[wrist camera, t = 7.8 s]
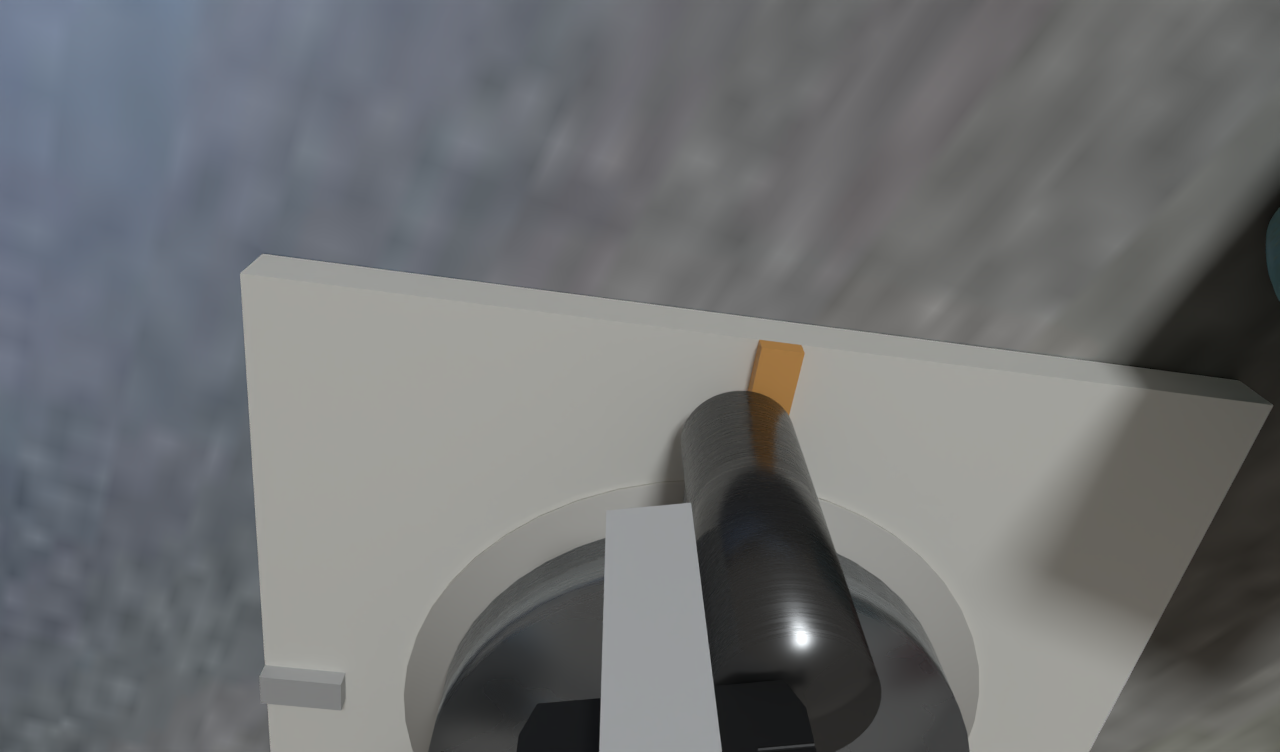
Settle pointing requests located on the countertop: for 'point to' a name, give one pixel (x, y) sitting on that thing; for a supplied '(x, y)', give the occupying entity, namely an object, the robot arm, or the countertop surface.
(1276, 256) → the flower pot
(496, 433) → the panel
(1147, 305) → the countertop surface
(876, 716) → the dial
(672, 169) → the countertop surface
